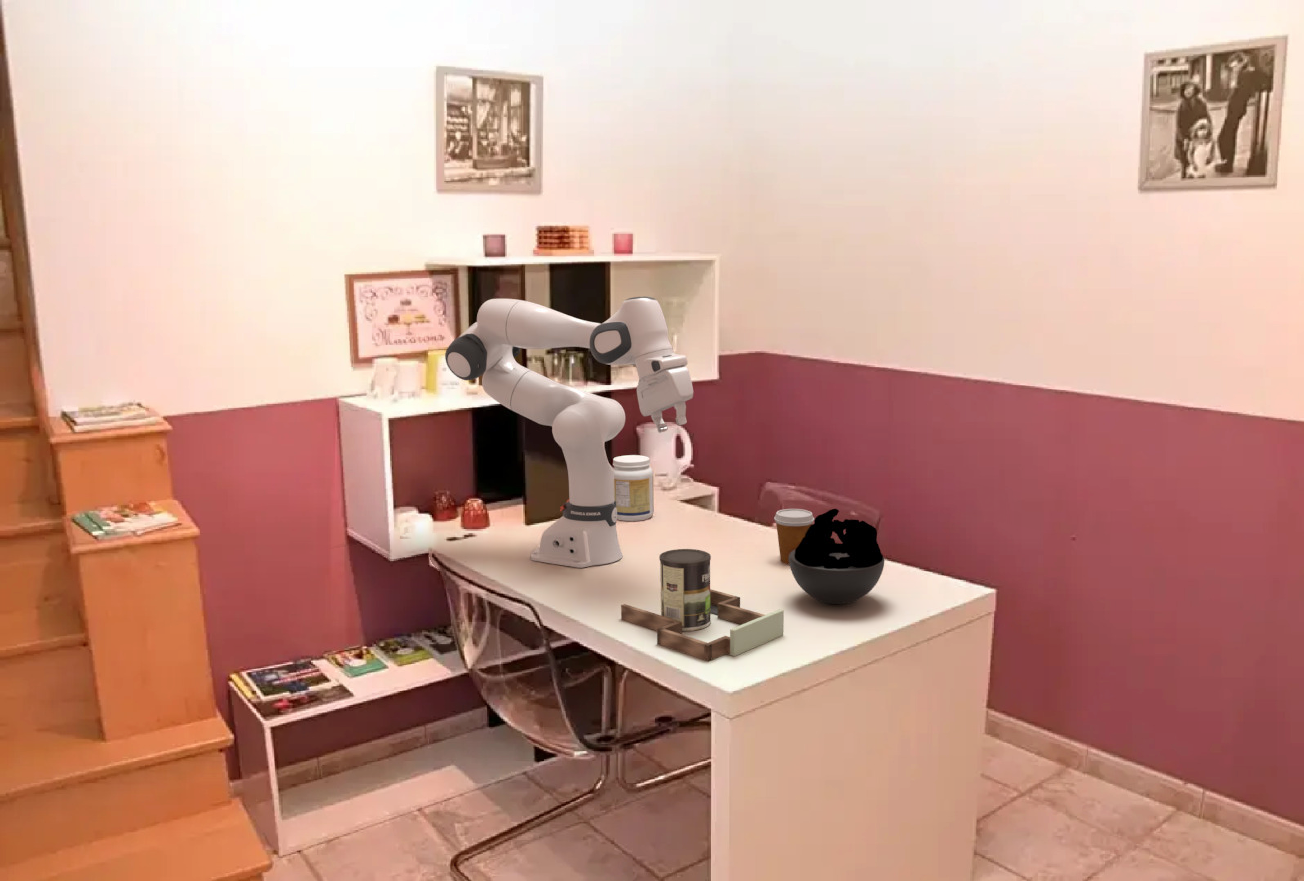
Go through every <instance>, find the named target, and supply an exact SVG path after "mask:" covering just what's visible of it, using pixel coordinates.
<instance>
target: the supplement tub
mask: <svg viewBox="0 0 1304 881" xmlns="http://www.w3.org/2000/svg"><path fill="white" fill-rule="evenodd" d="M612 461H613V462H612V468H613V470H614V499H615V500H616V508H617V521H622V522H640V521H645V520H648V519H650V518H651V517H653V515H654V512H655V509H654V506H655V504H654V502H655V501H654V499H655V498H654V495H655V494H654V493H655V492H654V471H653V468H652V467H651V460H650V457H648V456H647V455H638V454H629V455H621V456H620V455H619V456H616V457H614V458H613V460H612Z"/></svg>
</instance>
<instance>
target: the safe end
mask: <svg viewBox="0 0 1304 881" xmlns="http://www.w3.org/2000/svg"><path fill="white" fill-rule="evenodd" d="M784 617H785V616H784V610H783V609H780V608H779V609H777V610H774V611H772V612H769V613H767V614H764V616H762V617H759V618H757V619H754V620H752V621H750V622H747V623H745V624H742V625H741V624H739V625H737V626H736V627H732V628H731V629H730V630H729V637H730V655H729V656H732V657H736V656H738V655H740V654H743V653H746V652H747V651H750V650H752V649H754V648H757V647H759V646H762V645H764V644H765V643H768V642H770V641H773V640H775V639H777V638H780V637H782V636H784V629H785V628H784V625H785V624H784Z"/></svg>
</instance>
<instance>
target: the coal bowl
mask: <svg viewBox="0 0 1304 881" xmlns="http://www.w3.org/2000/svg"><path fill="white" fill-rule="evenodd" d="M839 512H840V510H839V509H838V508H833V509H829V510H828V511H826V512H824V513H821V514H818V515H817V516H816V517H814V521H813V523H812V525H811V526H810V527H809V528H808V530H807V532H806V533H805V537H803V538H802V540H801V542H800V544H799V545H798V547H797V548H796V549H795V550H793V551H792V552H791V553H790V554H789V564H790V565H789V564H788V565H789V568H790V572H791V574H792V576H793V578H794V580H795V583H797V585H798V586H799V587H800V588H801V589H802V591H804V592H805V593H806V594H807V595H809V596H810V597H811V598H813V599H815V600H818V601H819V602H823V603H826V604H830V605H845V604H850V603H853V602H855V601H858V600H860V599H862V598H864V597H865V596H866V595H868V594H869V593H870V592H871V591H872V590H873V588H874V587H875V586H876V585H877V584H878V582H879V580H880V578H881V576H882V575H883V574H882V573H883V571H884V567H885V557H884V555H883V554H882V551H881V548H880V546H879V543H878V540H877V539H878V538H877V537H878V531H877V528H876V527H875V526H873V525H871V524H869V523H868V522H866V521H865V520H861V521H860V520H859V519H851V518H850V519H848V518H845V519H844V520H843V521H841V520H839V519H834V518H835V517H836V516H837V515H838V514H839ZM844 530H845V531H844ZM833 533H835V535H836V536H837V538H838V539H839V540H840V543H839V542H837V543H836V540H835V538H833V537H832V536H833Z"/></svg>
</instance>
